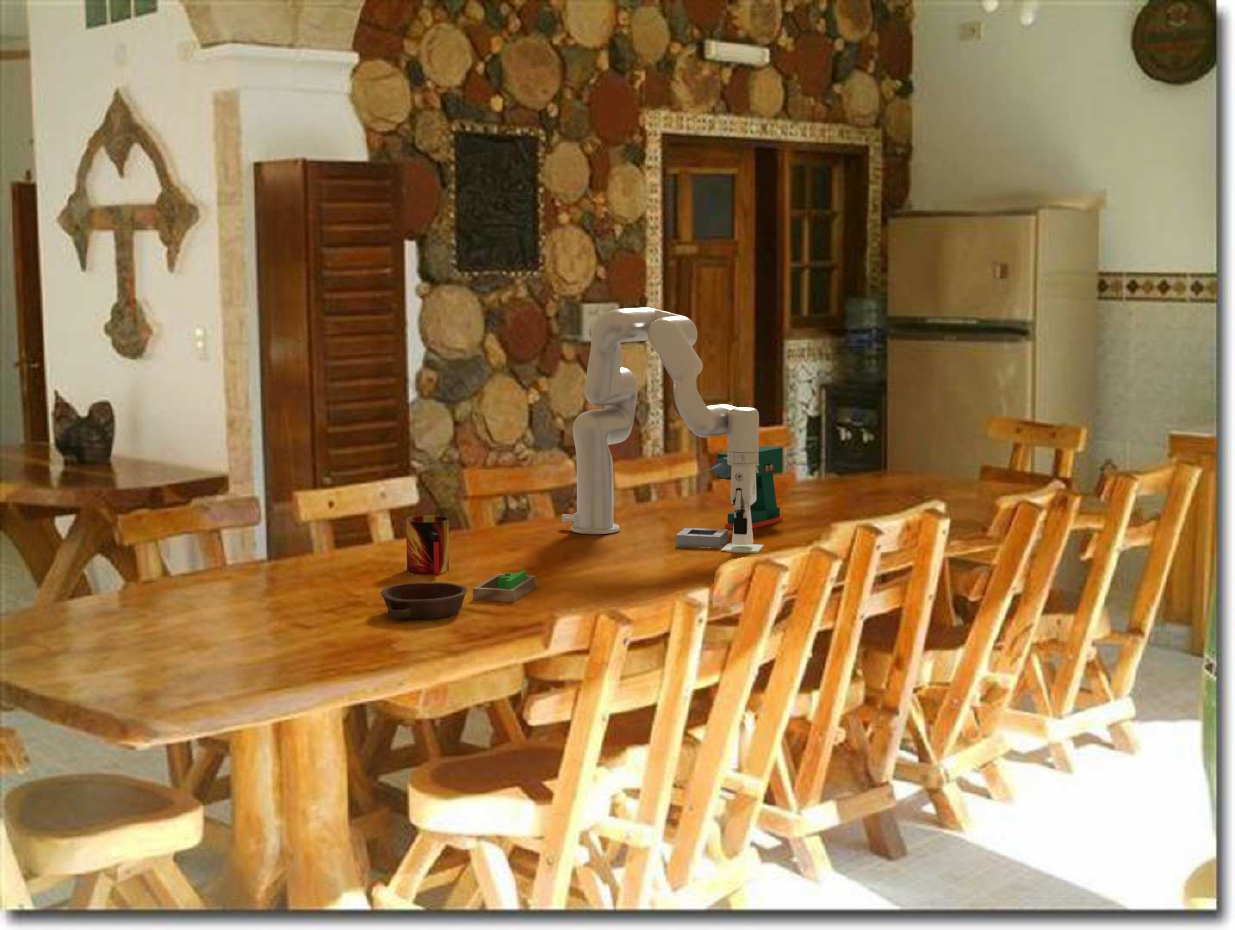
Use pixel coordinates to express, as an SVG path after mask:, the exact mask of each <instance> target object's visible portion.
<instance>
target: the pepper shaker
mask: <svg viewBox="0 0 1235 930" xmlns="http://www.w3.org/2000/svg"><path fill="white" fill-rule="evenodd" d="M741 505H744V503H741ZM746 518H747V534H746V535H743V534H734V526H733V529H732V535H731V537H732V538H731V543H733V544H737V545H748V544H754V534H753V528H752V521H751V511H750V508H748V504H747V506H746Z"/></svg>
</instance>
